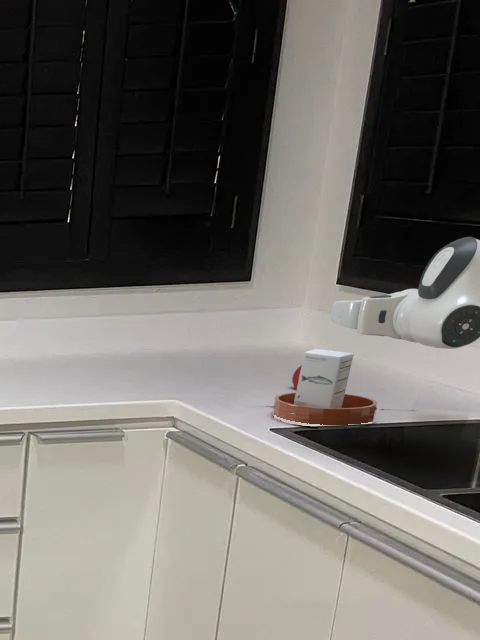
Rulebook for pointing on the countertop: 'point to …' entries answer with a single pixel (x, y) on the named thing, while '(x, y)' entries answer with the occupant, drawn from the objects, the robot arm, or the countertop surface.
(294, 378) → the onion
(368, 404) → the bowl
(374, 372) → the countertop surface
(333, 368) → the white packaging box
